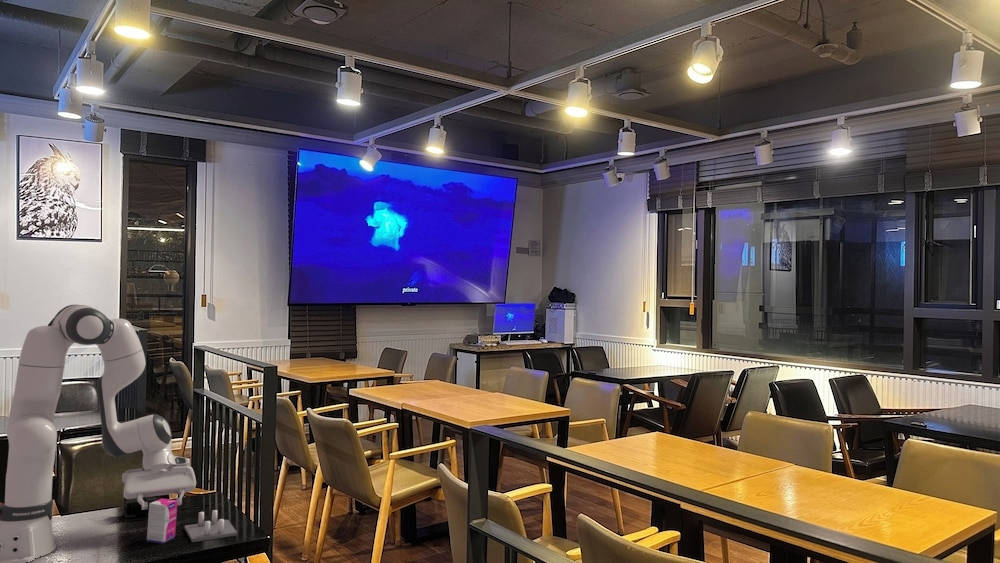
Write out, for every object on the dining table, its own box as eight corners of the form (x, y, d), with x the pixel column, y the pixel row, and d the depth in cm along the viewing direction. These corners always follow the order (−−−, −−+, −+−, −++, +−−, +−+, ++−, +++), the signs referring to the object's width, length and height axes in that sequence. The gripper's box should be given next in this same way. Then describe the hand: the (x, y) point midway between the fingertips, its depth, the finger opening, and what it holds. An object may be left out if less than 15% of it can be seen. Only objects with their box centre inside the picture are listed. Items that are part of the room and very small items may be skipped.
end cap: (156, 511, 238) (157, 491, 238) (157, 518, 232) (158, 497, 232) (123, 515, 233) (123, 494, 233) (123, 521, 227) (124, 500, 227)
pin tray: (192, 542, 212) (192, 525, 212) (184, 528, 223) (185, 513, 223) (237, 535, 219) (237, 519, 219) (227, 522, 230) (228, 507, 230)
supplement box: (163, 544, 210) (165, 505, 210) (146, 541, 211) (147, 503, 211) (176, 537, 216) (177, 499, 216) (159, 535, 217) (160, 497, 217)
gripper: (122, 465, 216) (124, 506, 208) (194, 458, 227) (199, 496, 219) (120, 476, 220) (122, 516, 211) (191, 468, 231) (195, 507, 223)
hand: (162, 506), depth 215 cm, fingers open, 8 cm apart
